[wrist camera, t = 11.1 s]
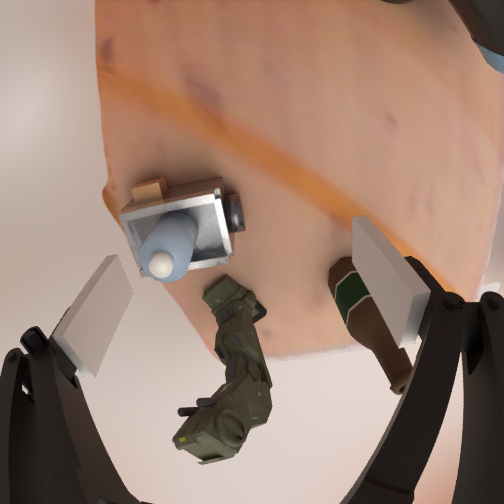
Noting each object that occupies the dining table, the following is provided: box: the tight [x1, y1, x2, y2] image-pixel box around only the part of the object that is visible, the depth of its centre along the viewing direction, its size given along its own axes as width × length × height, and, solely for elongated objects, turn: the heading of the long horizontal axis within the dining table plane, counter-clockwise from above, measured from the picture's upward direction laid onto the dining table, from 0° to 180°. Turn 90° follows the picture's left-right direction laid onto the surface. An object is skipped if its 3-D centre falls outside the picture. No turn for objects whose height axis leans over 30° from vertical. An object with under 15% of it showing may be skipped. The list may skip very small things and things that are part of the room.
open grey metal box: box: [119, 177, 246, 277], centre depth 35 cm, size 15×11×8 cm
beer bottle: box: [328, 257, 413, 395], centre depth 35 cm, size 8×8×24 cm
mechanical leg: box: [172, 275, 272, 465], centre depth 34 cm, size 14×7×30 cm, turn 41°
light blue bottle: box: [139, 212, 198, 282], centre depth 30 cm, size 6×6×8 cm
